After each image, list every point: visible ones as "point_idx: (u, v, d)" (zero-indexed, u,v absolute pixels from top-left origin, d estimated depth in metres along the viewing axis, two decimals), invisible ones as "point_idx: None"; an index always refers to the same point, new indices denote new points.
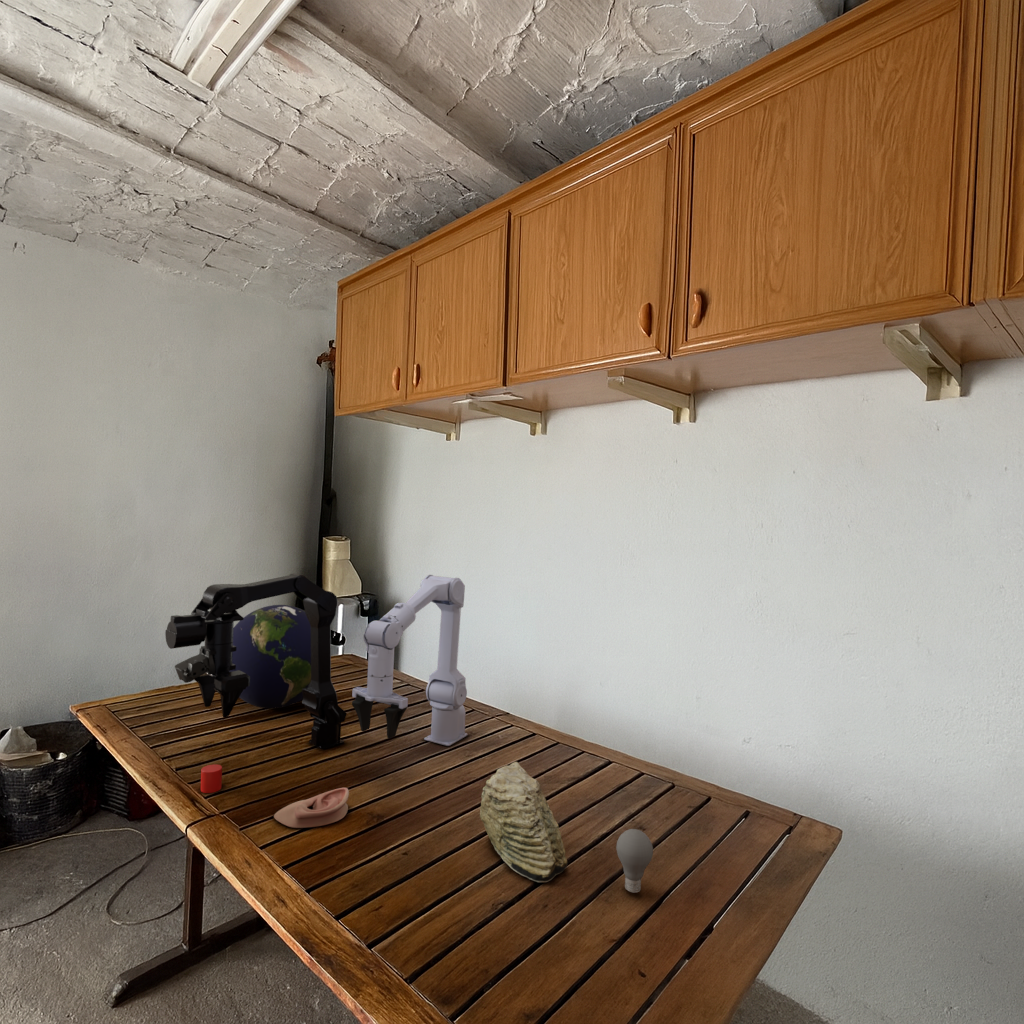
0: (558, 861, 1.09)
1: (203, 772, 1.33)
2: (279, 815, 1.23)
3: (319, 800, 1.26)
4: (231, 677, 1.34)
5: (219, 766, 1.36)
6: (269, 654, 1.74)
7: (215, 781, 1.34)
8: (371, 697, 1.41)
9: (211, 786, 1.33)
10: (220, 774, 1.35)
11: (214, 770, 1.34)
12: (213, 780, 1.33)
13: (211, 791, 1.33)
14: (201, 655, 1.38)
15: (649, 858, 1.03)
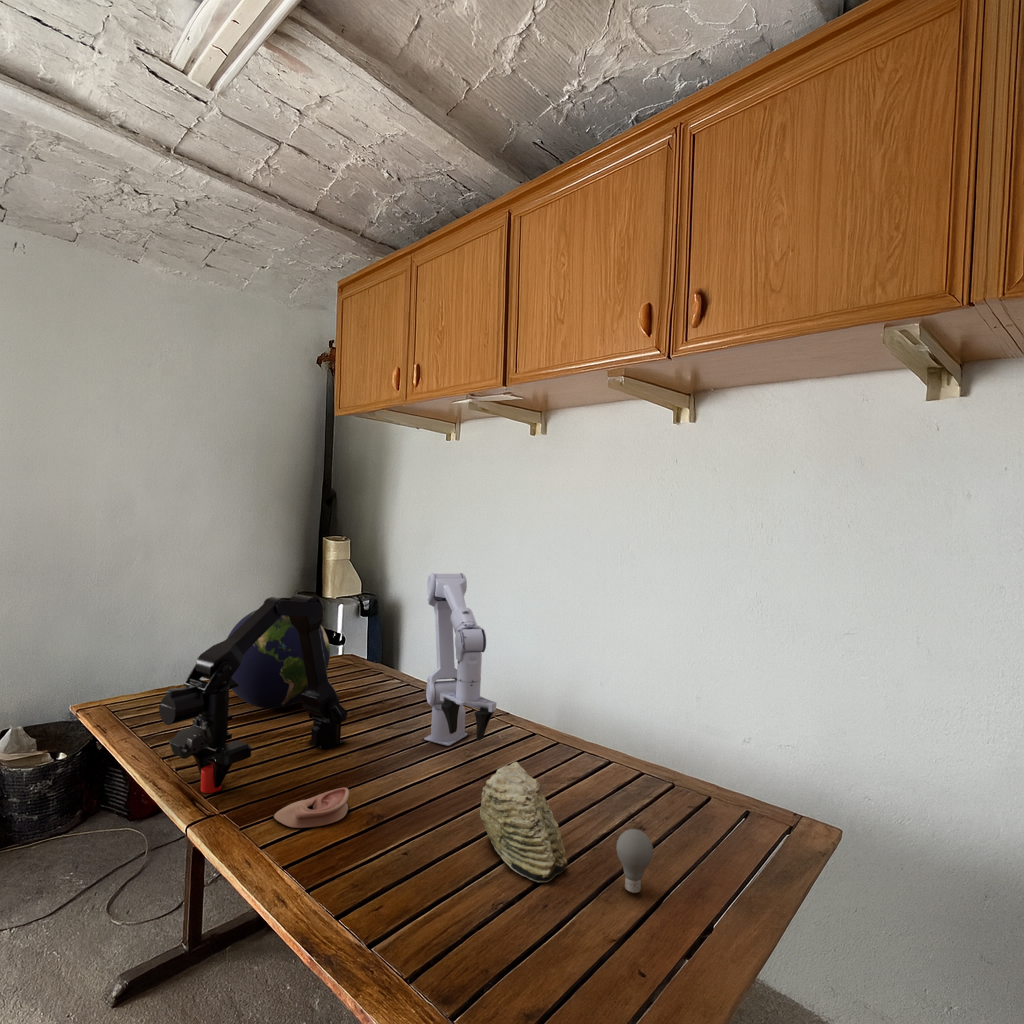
0: (558, 861, 1.09)
1: (203, 772, 1.33)
2: (279, 815, 1.23)
3: (319, 800, 1.26)
4: (234, 750, 1.29)
5: None
6: (269, 654, 1.74)
7: None
8: (462, 701, 1.48)
9: (211, 786, 1.33)
10: None
11: None
12: (213, 780, 1.33)
13: (211, 791, 1.33)
14: (196, 727, 1.32)
15: (649, 858, 1.03)
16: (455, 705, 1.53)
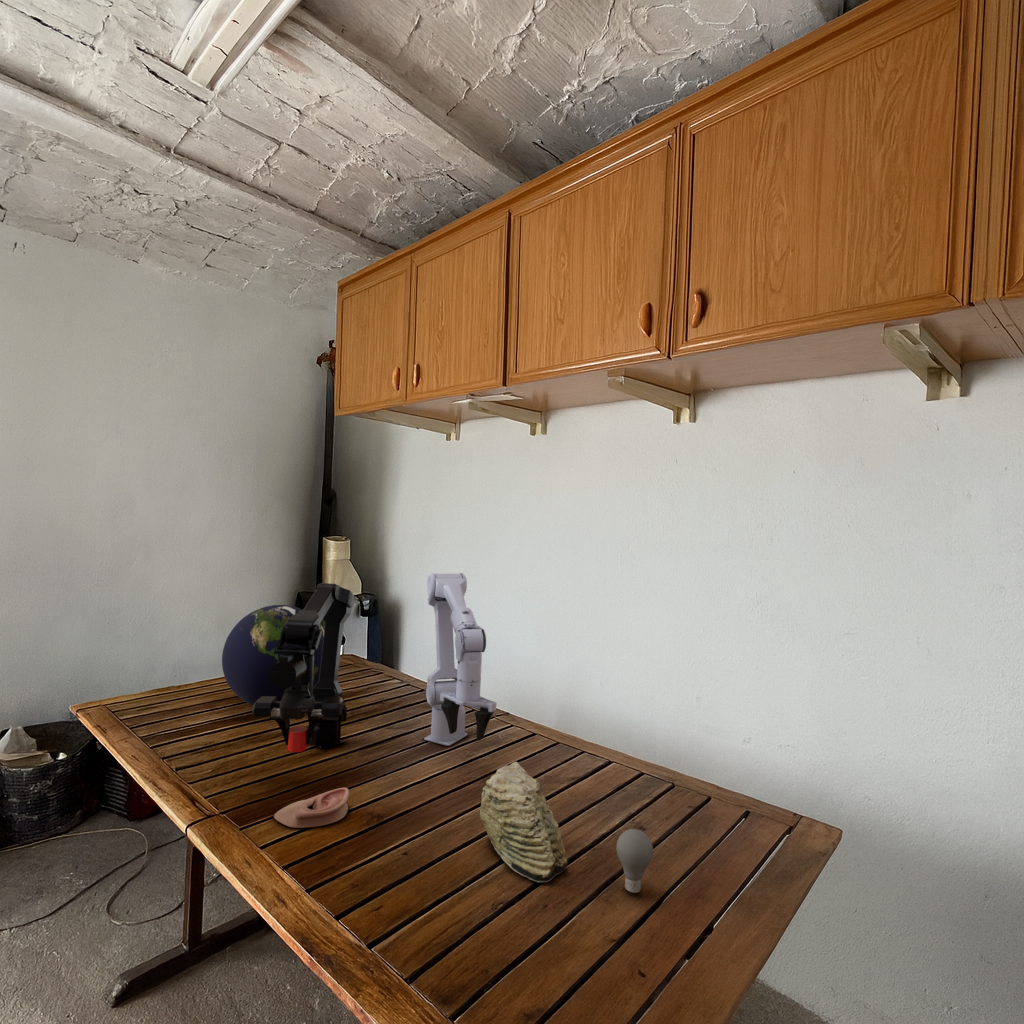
0: (558, 861, 1.09)
1: (296, 733, 1.39)
2: (279, 815, 1.23)
3: (319, 800, 1.26)
4: (339, 702, 1.41)
5: (301, 726, 1.43)
6: (269, 654, 1.74)
7: (306, 739, 1.41)
8: (462, 701, 1.48)
9: (304, 745, 1.41)
10: None
11: (303, 729, 1.41)
12: (305, 738, 1.41)
13: (304, 749, 1.41)
14: (293, 691, 1.38)
15: (649, 858, 1.03)
16: (455, 705, 1.53)
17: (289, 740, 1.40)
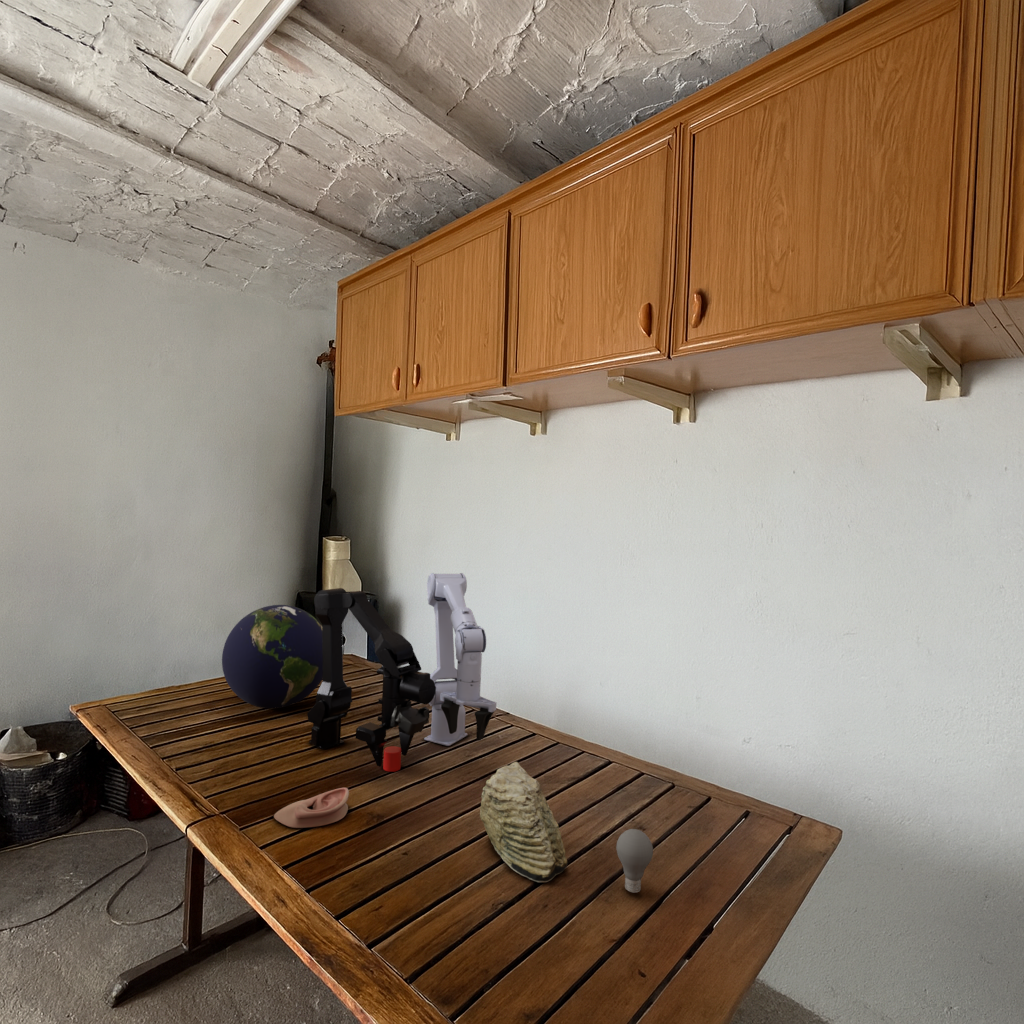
0: (558, 861, 1.09)
1: (399, 752, 1.48)
2: (279, 815, 1.23)
3: (319, 800, 1.26)
4: None
5: (389, 747, 1.51)
6: (269, 654, 1.74)
7: None
8: (462, 701, 1.48)
9: None
10: None
11: (397, 748, 1.50)
12: None
13: None
14: (403, 709, 1.47)
15: (649, 858, 1.03)
16: (455, 705, 1.53)
17: (391, 761, 1.47)
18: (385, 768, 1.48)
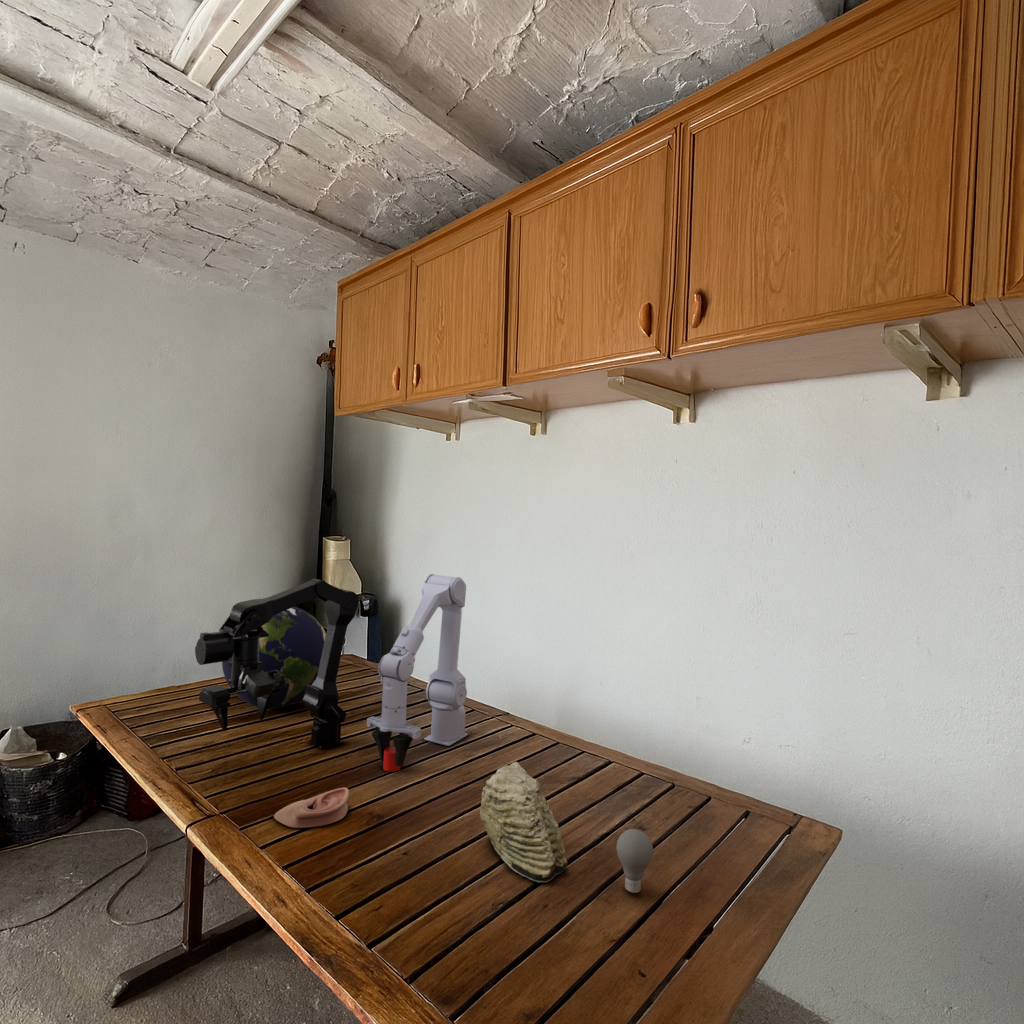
0: (558, 861, 1.09)
1: None
2: (279, 815, 1.23)
3: (319, 800, 1.26)
4: (281, 675, 1.53)
5: (389, 747, 1.51)
6: (269, 654, 1.74)
7: None
8: (385, 728, 1.46)
9: None
10: None
11: None
12: None
13: None
14: (252, 672, 1.43)
15: (649, 858, 1.03)
16: (387, 732, 1.51)
17: (391, 761, 1.47)
18: (385, 768, 1.48)
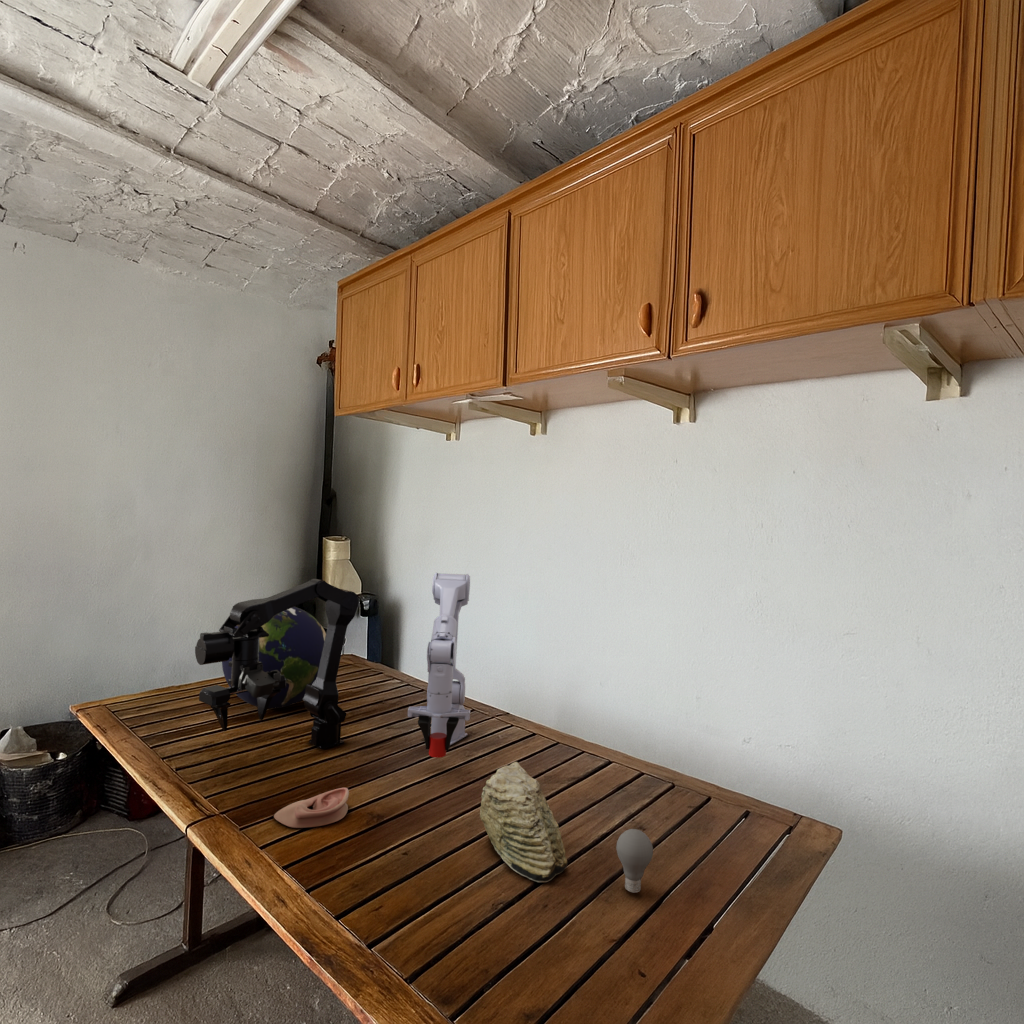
0: (558, 861, 1.09)
1: (446, 736, 1.49)
2: (279, 815, 1.23)
3: (319, 800, 1.26)
4: (281, 675, 1.53)
5: (432, 734, 1.50)
6: (269, 654, 1.74)
7: None
8: (438, 714, 1.45)
9: None
10: None
11: (440, 733, 1.50)
12: None
13: None
14: (252, 672, 1.43)
15: (649, 858, 1.03)
16: (430, 719, 1.49)
17: (441, 747, 1.47)
18: (434, 755, 1.47)
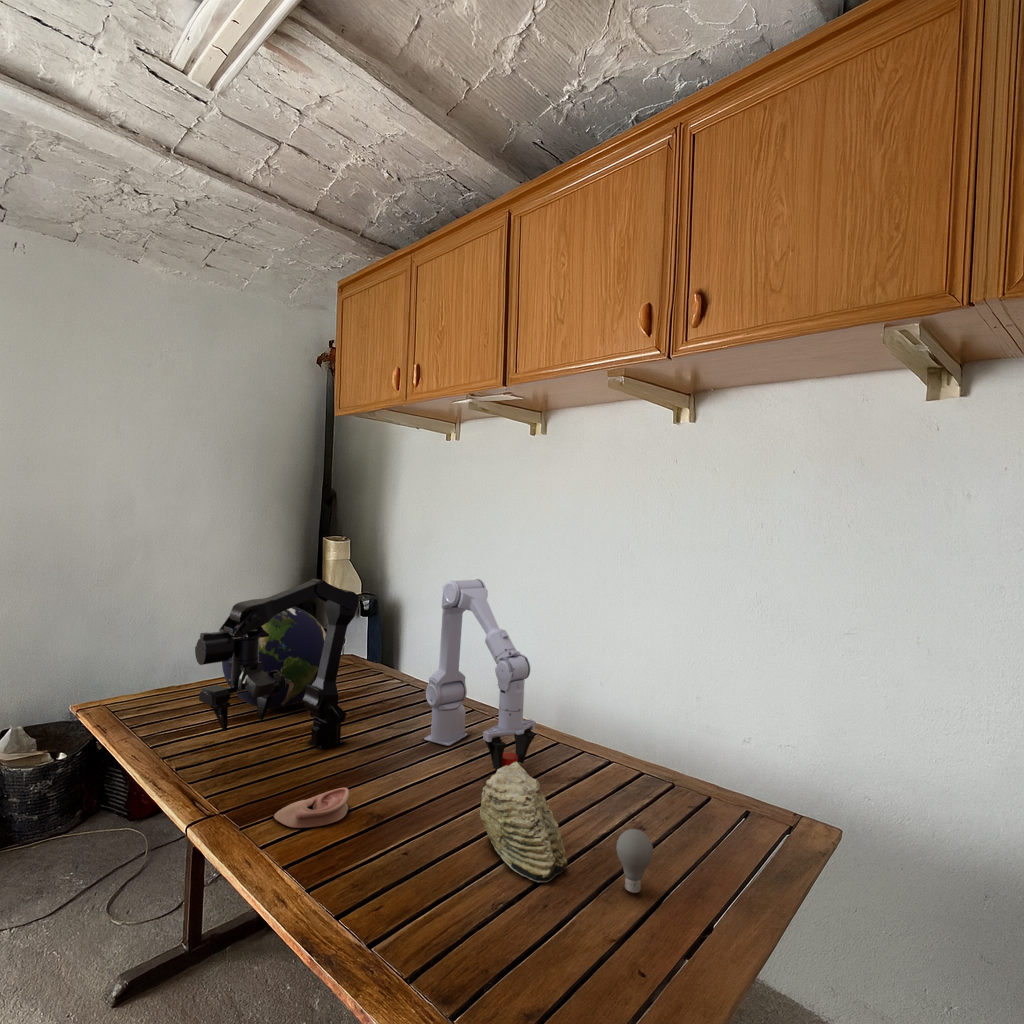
0: (558, 861, 1.09)
1: None
2: (279, 815, 1.23)
3: (319, 800, 1.26)
4: (281, 675, 1.53)
5: None
6: (269, 654, 1.74)
7: None
8: (521, 730, 1.46)
9: None
10: None
11: (507, 753, 1.50)
12: None
13: None
14: (252, 672, 1.43)
15: (649, 858, 1.03)
16: None
17: None
18: None
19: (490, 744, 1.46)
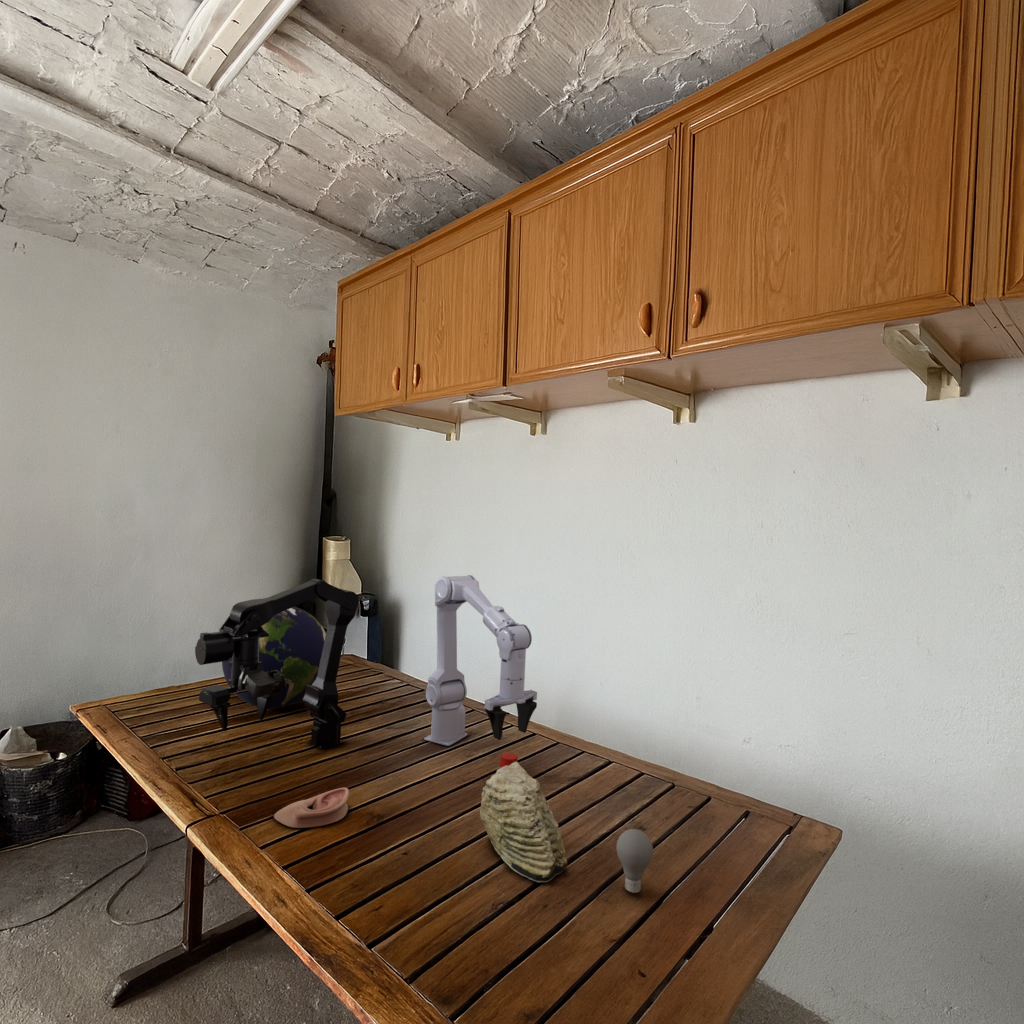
0: (558, 861, 1.09)
1: None
2: (279, 815, 1.23)
3: (319, 800, 1.26)
4: (281, 675, 1.53)
5: (502, 756, 1.48)
6: (269, 654, 1.74)
7: None
8: (522, 699, 1.46)
9: None
10: None
11: (507, 753, 1.50)
12: None
13: None
14: (252, 672, 1.43)
15: (649, 858, 1.03)
16: None
17: None
18: None
19: (490, 713, 1.46)
